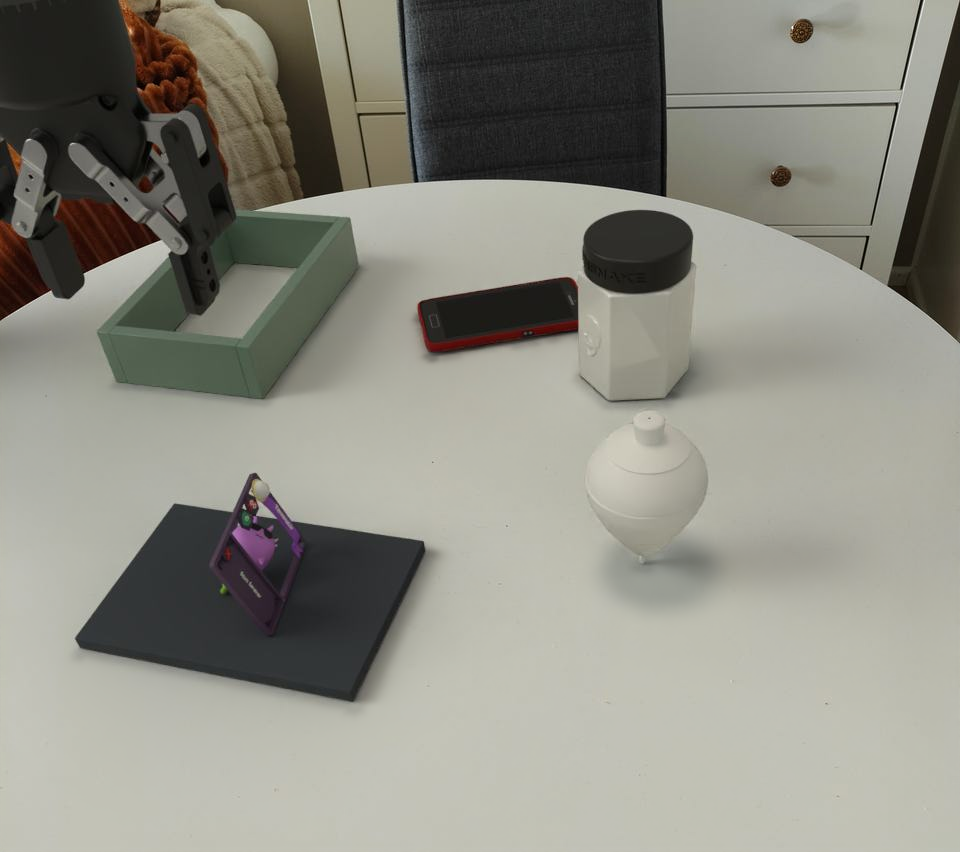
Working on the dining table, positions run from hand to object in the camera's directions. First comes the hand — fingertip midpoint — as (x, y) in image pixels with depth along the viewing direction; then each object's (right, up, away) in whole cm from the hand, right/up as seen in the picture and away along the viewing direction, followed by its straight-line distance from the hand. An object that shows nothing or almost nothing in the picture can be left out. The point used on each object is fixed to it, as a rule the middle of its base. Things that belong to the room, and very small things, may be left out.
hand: (135, 299), depth 58 cm
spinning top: (+30, -14, +12) cm, 36 cm away
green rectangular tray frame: (-3, +11, +38) cm, 39 cm away
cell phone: (+21, +9, +34) cm, 41 cm away
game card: (+4, -16, +12) cm, 20 cm away
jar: (+32, +3, +27) cm, 42 cm away
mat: (+4, -16, +13) cm, 21 cm away
